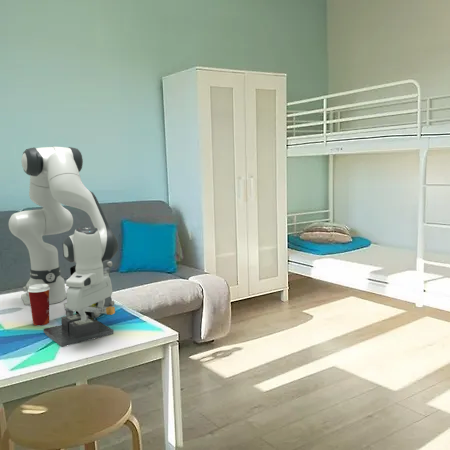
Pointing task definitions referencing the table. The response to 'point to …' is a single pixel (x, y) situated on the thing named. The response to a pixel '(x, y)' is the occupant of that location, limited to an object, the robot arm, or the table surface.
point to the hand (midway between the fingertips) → (92, 316)
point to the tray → (71, 339)
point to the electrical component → (108, 301)
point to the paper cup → (39, 303)
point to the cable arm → (91, 308)
